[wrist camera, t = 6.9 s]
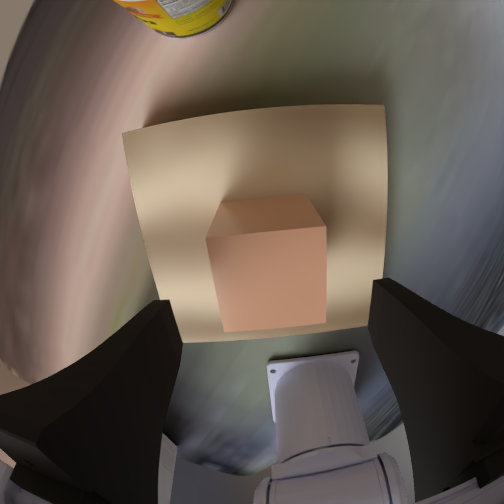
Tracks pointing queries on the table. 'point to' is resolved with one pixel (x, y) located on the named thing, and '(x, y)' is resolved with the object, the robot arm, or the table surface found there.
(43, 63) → the table surface
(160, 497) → the skincare box
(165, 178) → the maple base
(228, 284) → the terracotta block
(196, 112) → the table surface
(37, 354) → the table surface
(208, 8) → the supplement bottle
